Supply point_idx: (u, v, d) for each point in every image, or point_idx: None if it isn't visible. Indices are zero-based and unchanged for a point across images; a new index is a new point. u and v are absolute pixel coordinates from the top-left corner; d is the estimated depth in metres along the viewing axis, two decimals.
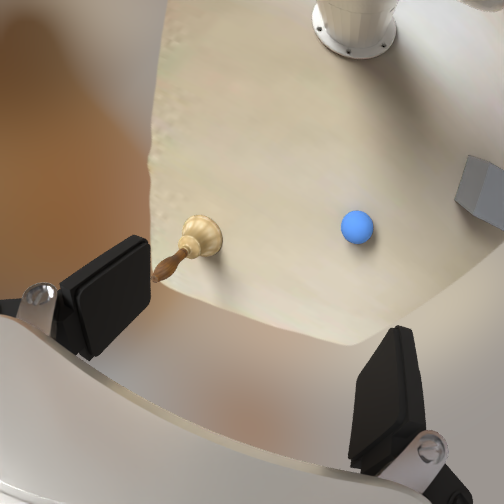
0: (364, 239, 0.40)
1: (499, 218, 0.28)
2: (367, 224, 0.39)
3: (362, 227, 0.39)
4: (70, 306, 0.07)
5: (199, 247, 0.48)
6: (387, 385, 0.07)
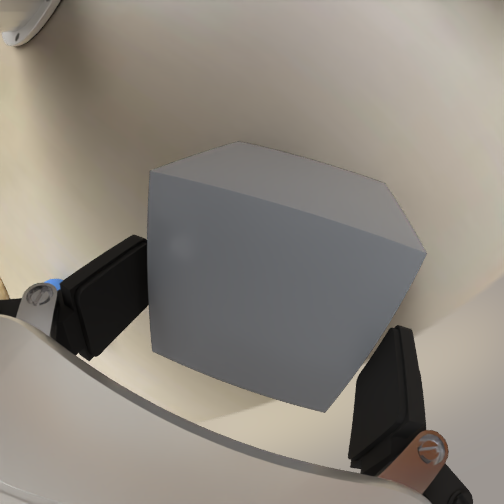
0: None
1: (263, 375, 0.10)
2: None
3: None
4: (70, 306, 0.07)
5: None
6: (387, 385, 0.07)
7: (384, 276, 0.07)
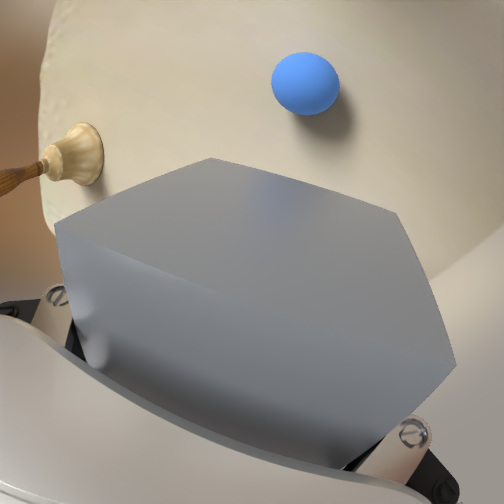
0: (319, 94, 0.17)
1: None
2: (321, 64, 0.16)
3: (310, 67, 0.16)
4: None
5: (60, 159, 0.25)
6: None
7: (386, 393, 0.04)
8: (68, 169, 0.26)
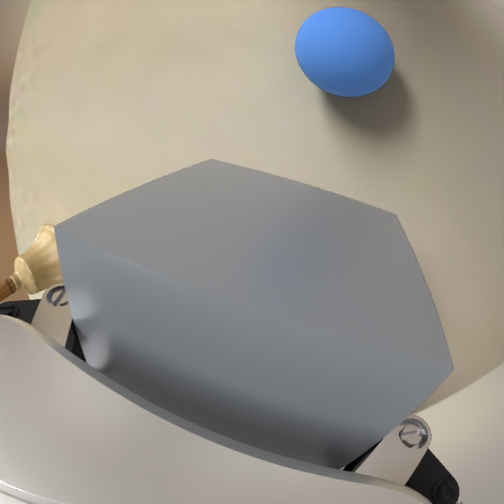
0: None
1: None
2: (358, 90, 0.11)
3: (344, 95, 0.12)
4: None
5: (31, 278, 0.23)
6: None
7: (383, 396, 0.04)
8: (42, 285, 0.24)
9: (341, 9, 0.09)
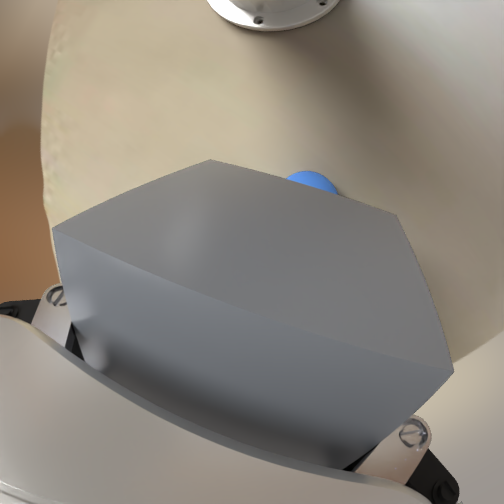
0: None
1: None
2: None
3: None
4: None
5: None
6: None
7: (383, 399, 0.04)
8: None
9: None
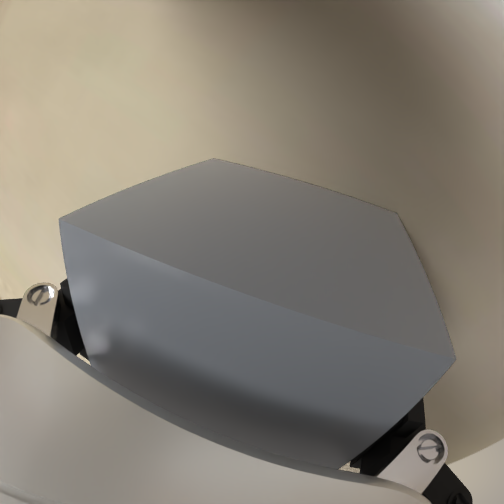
0: None
1: None
2: None
3: None
4: (71, 306, 0.07)
5: None
6: None
7: (386, 388, 0.04)
8: None
9: None
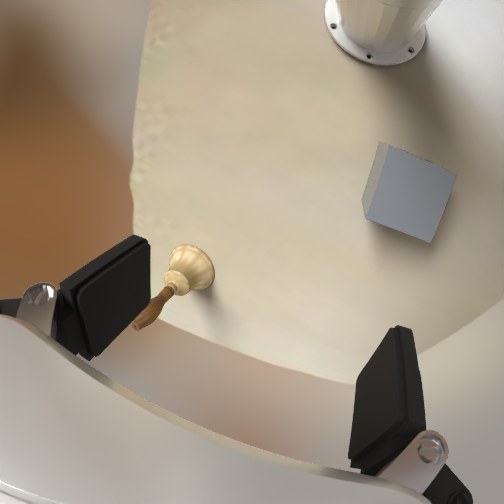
0: None
1: (411, 222, 0.26)
2: None
3: None
4: (70, 306, 0.07)
5: (187, 284, 0.42)
6: (387, 385, 0.07)
7: (446, 181, 0.23)
8: (191, 288, 0.43)
9: None
